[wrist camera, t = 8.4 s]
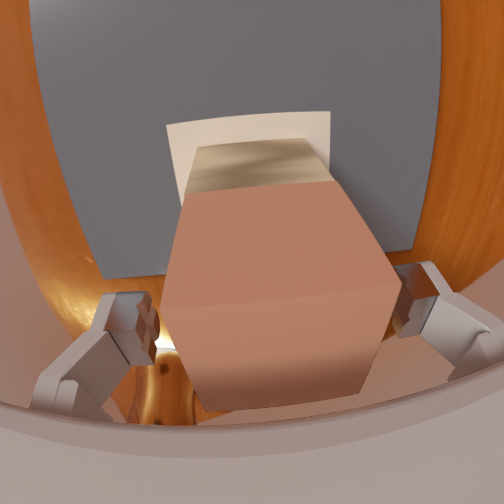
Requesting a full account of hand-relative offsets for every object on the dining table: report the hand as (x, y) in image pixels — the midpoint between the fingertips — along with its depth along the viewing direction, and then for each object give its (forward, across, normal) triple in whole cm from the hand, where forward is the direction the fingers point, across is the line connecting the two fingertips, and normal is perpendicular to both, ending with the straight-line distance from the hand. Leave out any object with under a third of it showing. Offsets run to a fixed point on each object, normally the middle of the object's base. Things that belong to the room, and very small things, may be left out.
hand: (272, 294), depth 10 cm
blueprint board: (+9, 0, -5) cm, 10 cm away
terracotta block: (+2, 0, 0) cm, 2 cm away
